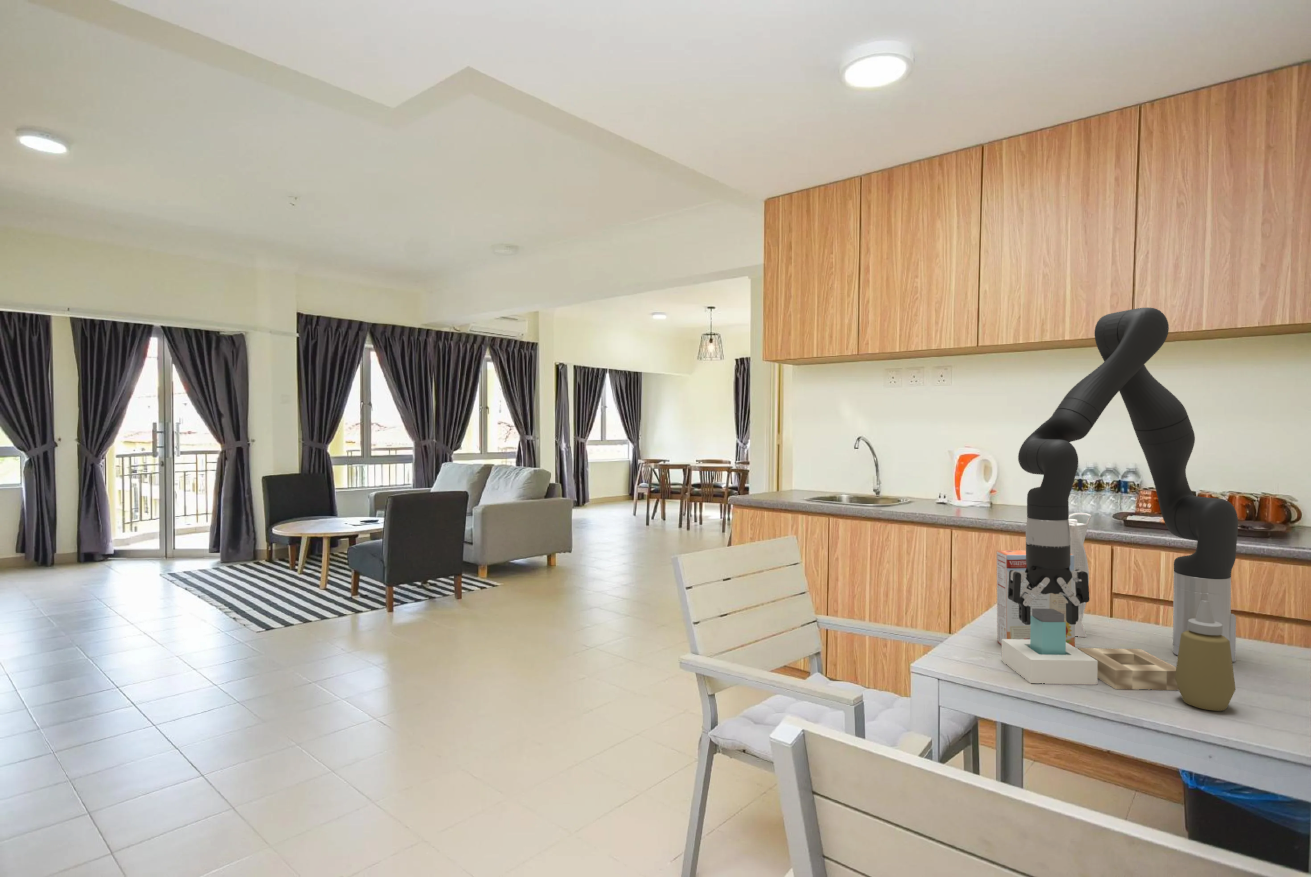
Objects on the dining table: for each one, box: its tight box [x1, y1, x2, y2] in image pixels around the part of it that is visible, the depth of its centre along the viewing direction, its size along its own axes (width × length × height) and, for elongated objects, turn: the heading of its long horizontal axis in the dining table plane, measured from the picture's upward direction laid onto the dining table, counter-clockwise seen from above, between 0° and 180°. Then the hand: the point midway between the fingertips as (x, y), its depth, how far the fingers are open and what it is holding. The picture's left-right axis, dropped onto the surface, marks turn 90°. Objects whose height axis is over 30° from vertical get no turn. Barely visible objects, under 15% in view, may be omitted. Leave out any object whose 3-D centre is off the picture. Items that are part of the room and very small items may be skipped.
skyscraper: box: [1069, 512, 1092, 638], centre depth 154 cm, size 8×8×28 cm
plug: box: [1030, 609, 1066, 655], centre depth 130 cm, size 4×4×12 cm
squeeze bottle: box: [1175, 600, 1236, 712], centre depth 115 cm, size 8×8×18 cm
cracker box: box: [996, 549, 1076, 648], centre depth 145 cm, size 14×6×21 cm, turn 84°
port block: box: [1001, 639, 1098, 686], centre depth 130 cm, size 12×12×5 cm
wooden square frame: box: [1077, 647, 1179, 691], centre depth 128 cm, size 12×12×4 cm
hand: (1048, 623), depth 130 cm, fingers open, 8 cm apart
